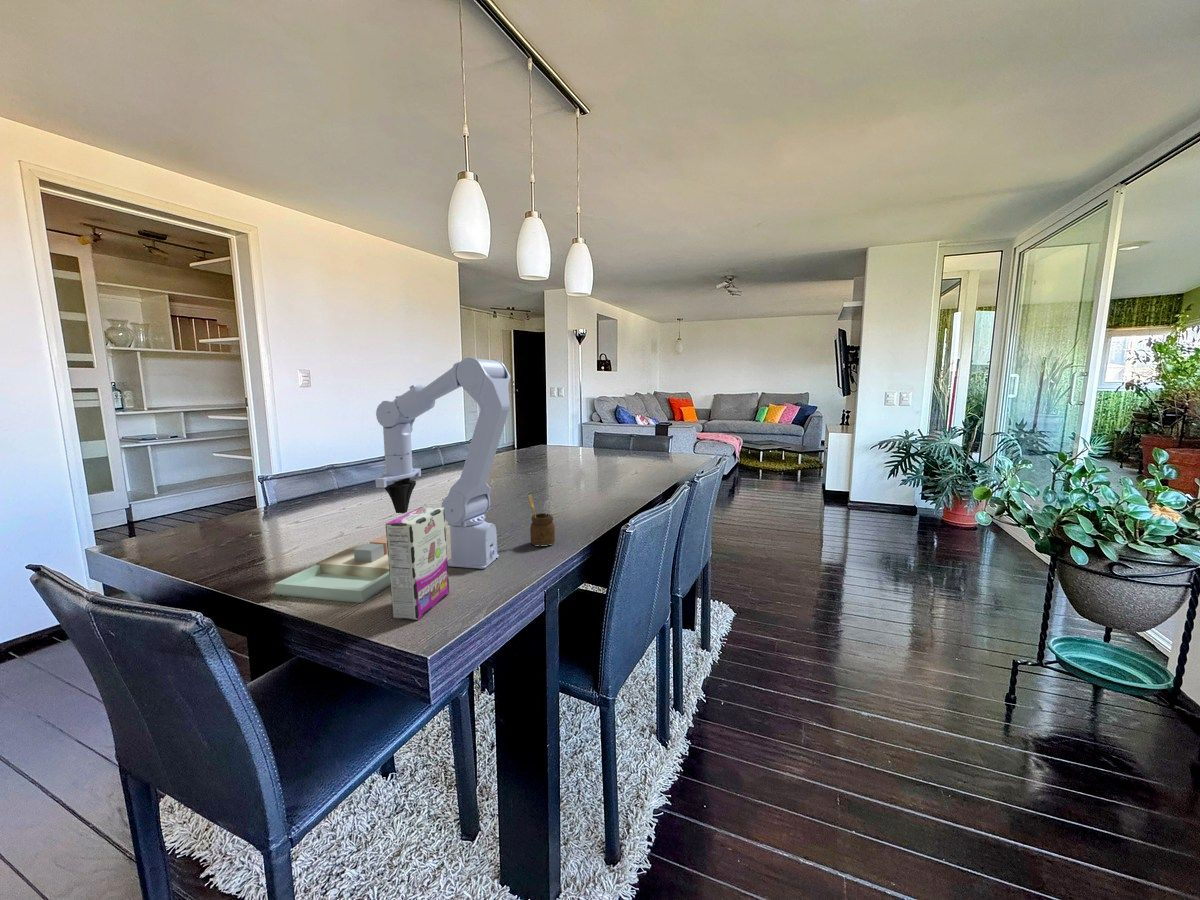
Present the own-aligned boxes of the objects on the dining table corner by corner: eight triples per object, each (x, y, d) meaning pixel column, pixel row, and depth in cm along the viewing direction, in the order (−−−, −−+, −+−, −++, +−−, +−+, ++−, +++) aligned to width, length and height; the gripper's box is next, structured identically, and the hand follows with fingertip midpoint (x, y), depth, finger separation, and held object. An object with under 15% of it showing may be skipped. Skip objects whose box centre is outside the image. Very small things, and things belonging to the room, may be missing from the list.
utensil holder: (550, 548, 116) (549, 498, 115) (525, 546, 118) (524, 497, 116) (558, 540, 122) (557, 493, 120) (534, 539, 123) (533, 492, 122)
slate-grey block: (384, 555, 104) (383, 544, 104) (371, 562, 100) (371, 550, 100) (367, 554, 105) (366, 543, 105) (354, 561, 101) (353, 549, 101)
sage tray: (396, 581, 97) (395, 570, 96) (362, 602, 87) (361, 591, 87) (316, 574, 100) (315, 564, 100) (275, 595, 90) (274, 583, 90)
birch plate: (431, 559, 109) (430, 548, 109) (396, 581, 97) (395, 569, 96) (359, 554, 113) (358, 543, 113) (316, 574, 100) (315, 563, 100)
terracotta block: (398, 548, 109) (397, 537, 109) (387, 554, 105) (386, 543, 105) (382, 547, 110) (381, 536, 109) (370, 553, 106) (369, 541, 106)
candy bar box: (425, 591, 92) (420, 505, 90) (450, 593, 91) (446, 506, 89) (389, 619, 81) (383, 522, 79) (417, 621, 80) (412, 523, 78)
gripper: (401, 449, 119) (404, 504, 121) (361, 458, 105) (365, 519, 107) (427, 450, 118) (430, 505, 120) (390, 458, 104) (394, 521, 106)
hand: (401, 512), depth 113 cm, fingers closed
